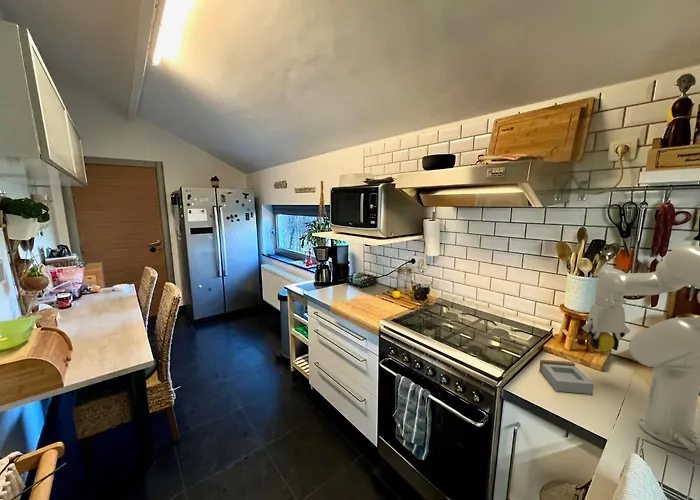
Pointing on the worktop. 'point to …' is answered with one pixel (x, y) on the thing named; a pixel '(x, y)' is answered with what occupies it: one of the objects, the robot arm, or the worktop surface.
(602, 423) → the worktop surface
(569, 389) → the tray
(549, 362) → the wall
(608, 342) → the lemon
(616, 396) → the worktop surface
